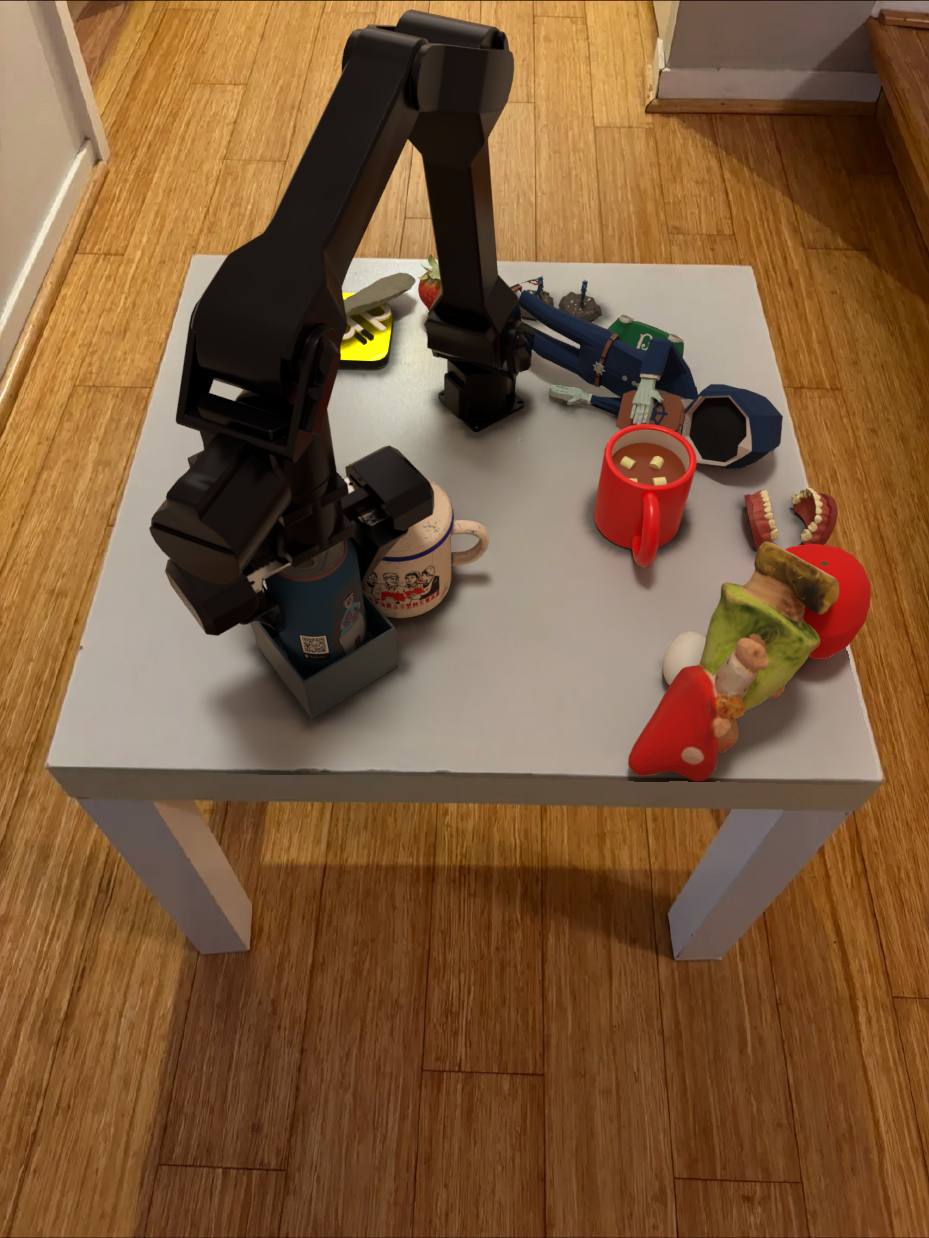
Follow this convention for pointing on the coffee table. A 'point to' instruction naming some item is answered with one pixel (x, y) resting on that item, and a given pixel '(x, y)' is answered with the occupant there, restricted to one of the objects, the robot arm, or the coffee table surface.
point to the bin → (343, 675)
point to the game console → (367, 338)
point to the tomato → (850, 605)
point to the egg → (683, 654)
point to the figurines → (567, 302)
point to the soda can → (321, 606)
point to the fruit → (429, 283)
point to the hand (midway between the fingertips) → (318, 604)
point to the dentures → (807, 503)
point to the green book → (642, 333)
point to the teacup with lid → (423, 562)
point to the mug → (644, 488)
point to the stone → (378, 293)
